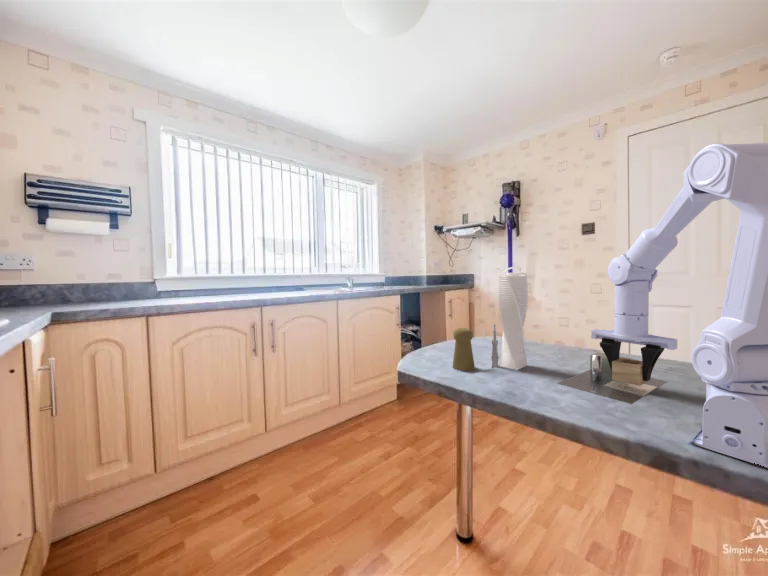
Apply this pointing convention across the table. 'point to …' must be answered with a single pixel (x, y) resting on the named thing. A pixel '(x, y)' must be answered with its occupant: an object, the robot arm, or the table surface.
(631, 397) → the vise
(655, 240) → the robot arm
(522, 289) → the skyscraper
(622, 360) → the wooden box
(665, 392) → the table surface
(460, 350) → the cork
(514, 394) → the table surface
